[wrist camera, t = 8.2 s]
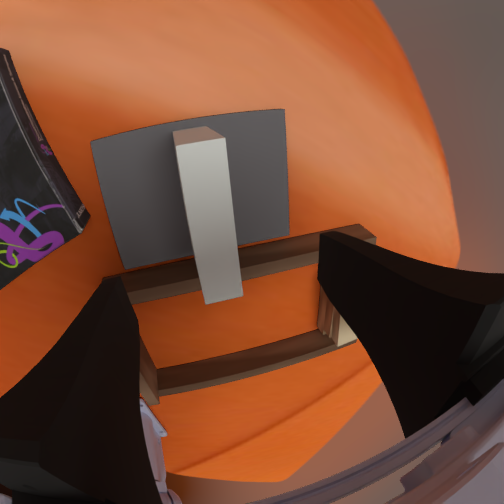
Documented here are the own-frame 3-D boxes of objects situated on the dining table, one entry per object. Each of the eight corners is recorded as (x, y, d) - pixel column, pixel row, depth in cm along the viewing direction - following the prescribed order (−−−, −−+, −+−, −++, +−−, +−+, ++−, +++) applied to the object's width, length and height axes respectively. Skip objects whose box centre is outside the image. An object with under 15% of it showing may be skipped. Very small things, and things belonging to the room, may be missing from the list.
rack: (344, 326, 30) (363, 352, 26) (150, 377, 26) (152, 410, 22) (359, 223, 23) (388, 246, 20) (102, 277, 19) (94, 313, 16)
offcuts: (338, 319, 29) (356, 343, 26) (315, 326, 28) (332, 352, 25) (348, 241, 24) (373, 264, 21) (321, 247, 23) (344, 272, 20)
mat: (287, 232, 22) (289, 234, 22) (125, 266, 19) (125, 269, 19) (282, 108, 17) (284, 109, 17) (91, 140, 15) (90, 141, 14)
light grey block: (221, 243, 20) (243, 296, 15) (192, 249, 20) (205, 304, 15) (205, 125, 16) (225, 137, 11) (172, 131, 16) (175, 145, 11)
